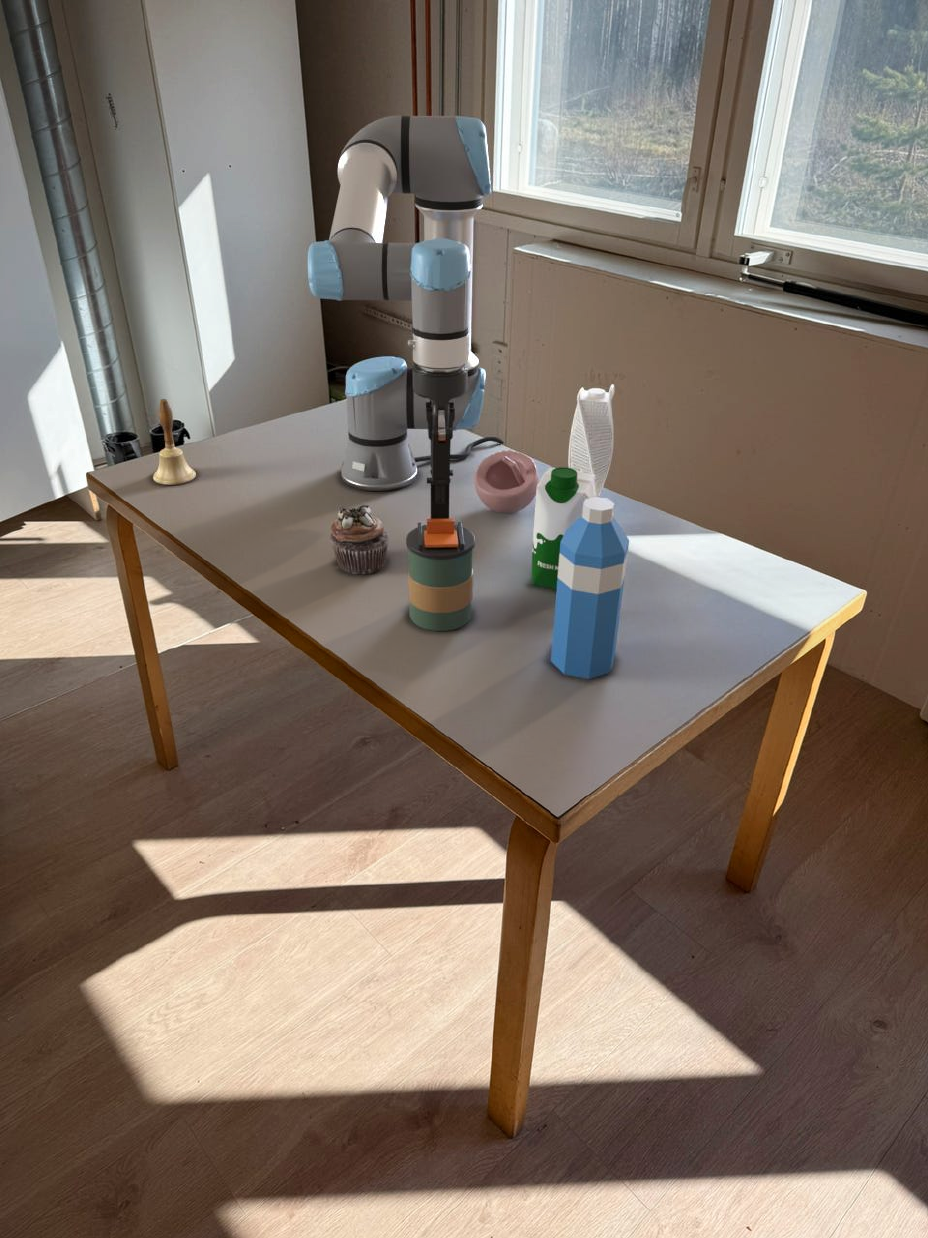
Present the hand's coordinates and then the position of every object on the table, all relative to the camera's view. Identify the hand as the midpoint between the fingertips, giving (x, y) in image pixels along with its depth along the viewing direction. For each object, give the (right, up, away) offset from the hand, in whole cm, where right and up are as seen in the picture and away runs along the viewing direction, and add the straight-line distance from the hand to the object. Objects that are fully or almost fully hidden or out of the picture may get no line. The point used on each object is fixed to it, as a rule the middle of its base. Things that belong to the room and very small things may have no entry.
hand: (439, 519), depth 138 cm
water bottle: (+21, -21, -4) cm, 30 cm away
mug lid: (0, -4, -1) cm, 4 cm away
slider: (0, -3, -3) cm, 4 cm away
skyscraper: (+25, +1, +30) cm, 39 cm away
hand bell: (-55, +14, +47) cm, 74 cm away
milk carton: (+19, -8, +16) cm, 26 cm away
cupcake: (-14, -6, +19) cm, 24 cm away
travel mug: (0, -14, +6) cm, 15 cm away
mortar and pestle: (+11, +6, +37) cm, 39 cm away
